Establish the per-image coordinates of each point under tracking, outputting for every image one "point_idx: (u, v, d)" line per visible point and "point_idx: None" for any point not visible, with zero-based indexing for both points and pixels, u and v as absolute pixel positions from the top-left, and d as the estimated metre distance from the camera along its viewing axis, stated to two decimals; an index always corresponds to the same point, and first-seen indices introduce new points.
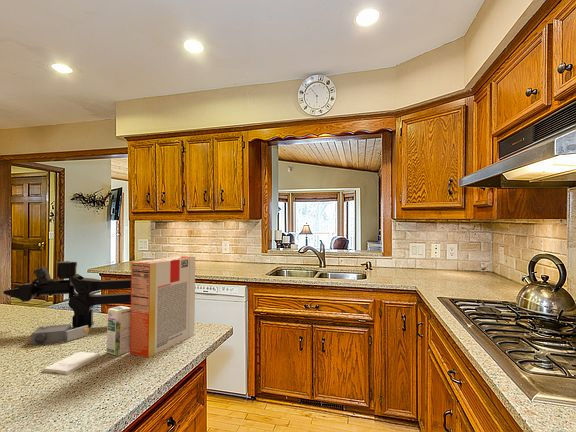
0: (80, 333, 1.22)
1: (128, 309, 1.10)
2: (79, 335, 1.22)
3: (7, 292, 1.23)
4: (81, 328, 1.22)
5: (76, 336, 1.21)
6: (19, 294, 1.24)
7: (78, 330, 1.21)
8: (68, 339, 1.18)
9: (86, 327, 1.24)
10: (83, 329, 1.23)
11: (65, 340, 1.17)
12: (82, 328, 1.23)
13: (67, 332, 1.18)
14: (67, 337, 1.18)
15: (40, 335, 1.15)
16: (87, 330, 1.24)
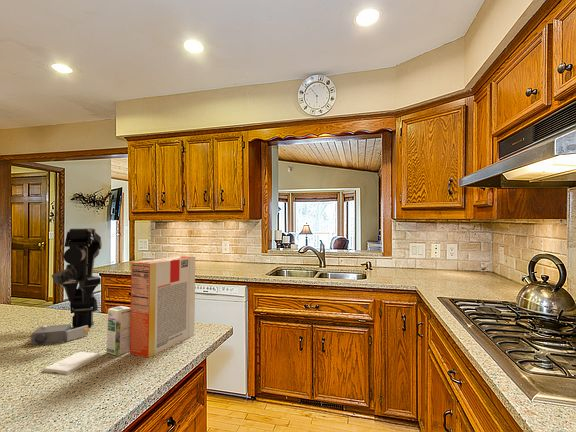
0: (80, 333, 1.22)
1: (128, 309, 1.10)
2: (79, 335, 1.22)
3: (86, 300, 1.22)
4: (81, 328, 1.22)
5: (76, 336, 1.21)
6: (89, 289, 1.23)
7: (78, 330, 1.21)
8: (68, 339, 1.18)
9: (86, 327, 1.24)
10: (83, 329, 1.23)
11: (65, 340, 1.17)
12: (82, 328, 1.23)
13: (67, 332, 1.18)
14: (67, 337, 1.18)
15: (40, 335, 1.15)
16: (87, 330, 1.24)
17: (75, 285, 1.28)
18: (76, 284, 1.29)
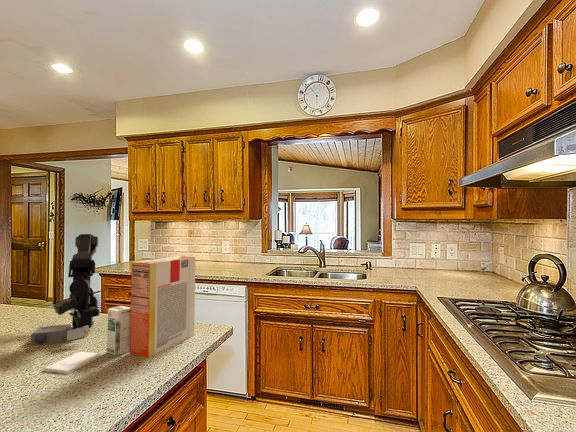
0: (81, 333, 1.22)
1: (128, 309, 1.10)
2: (79, 336, 1.22)
3: None
4: (81, 328, 1.22)
5: (76, 336, 1.21)
6: (84, 317, 1.24)
7: (78, 330, 1.21)
8: (68, 339, 1.18)
9: (87, 327, 1.24)
10: (83, 329, 1.23)
11: (65, 340, 1.17)
12: (82, 328, 1.23)
13: (67, 332, 1.18)
14: (66, 337, 1.18)
15: (40, 335, 1.15)
16: (87, 330, 1.24)
17: None
18: None
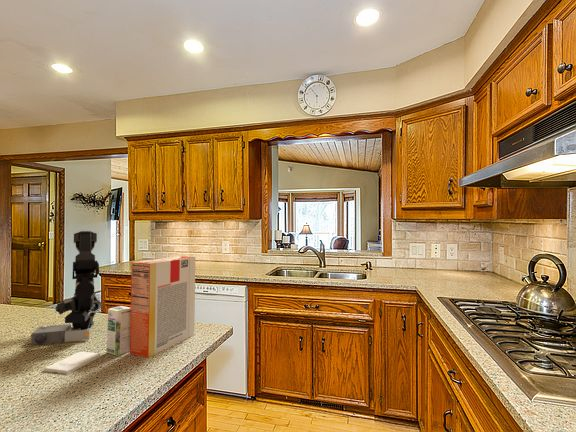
0: (80, 336, 1.19)
1: (128, 309, 1.10)
2: (78, 338, 1.19)
3: None
4: (81, 331, 1.19)
5: (75, 338, 1.18)
6: (85, 320, 1.20)
7: (77, 333, 1.19)
8: (66, 340, 1.17)
9: (87, 331, 1.20)
10: (83, 332, 1.19)
11: (62, 340, 1.17)
12: (82, 331, 1.19)
13: (64, 333, 1.17)
14: (64, 338, 1.17)
15: (40, 335, 1.15)
16: (87, 334, 1.19)
17: None
18: None
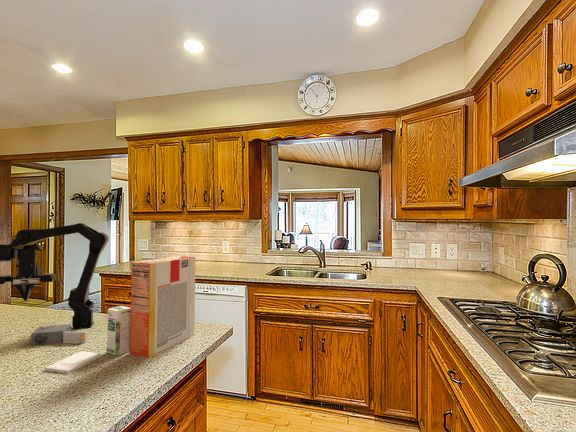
0: (77, 338, 1.17)
1: (128, 309, 1.10)
2: (75, 340, 1.17)
3: None
4: (77, 333, 1.17)
5: (72, 340, 1.17)
6: None
7: (74, 334, 1.17)
8: (64, 340, 1.17)
9: (83, 333, 1.17)
10: (79, 335, 1.17)
11: (61, 340, 1.17)
12: (78, 333, 1.17)
13: (63, 333, 1.17)
14: (63, 338, 1.17)
15: (40, 335, 1.15)
16: (82, 337, 1.17)
17: None
18: None
